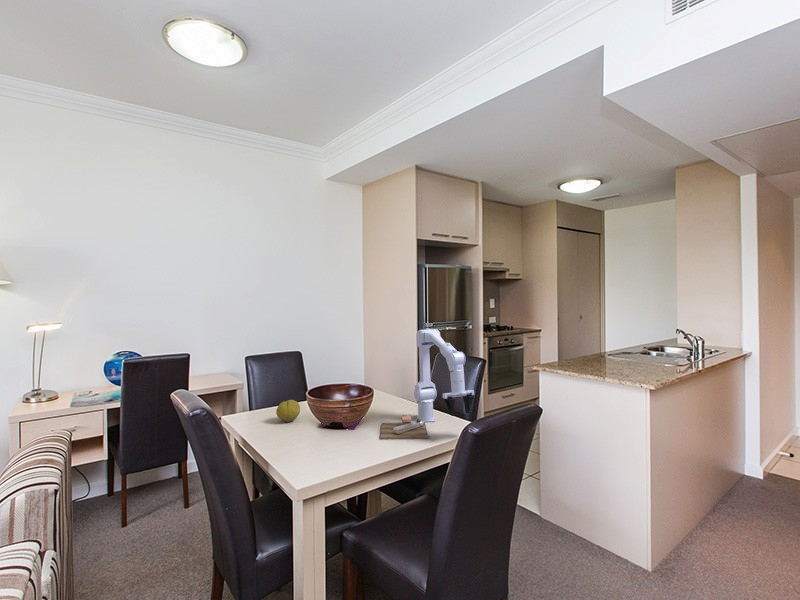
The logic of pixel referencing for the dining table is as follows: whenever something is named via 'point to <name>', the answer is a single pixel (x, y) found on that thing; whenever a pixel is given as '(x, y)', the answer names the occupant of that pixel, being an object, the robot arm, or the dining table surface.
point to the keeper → (408, 419)
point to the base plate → (411, 434)
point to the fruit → (288, 410)
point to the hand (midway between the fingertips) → (459, 414)
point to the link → (408, 426)
